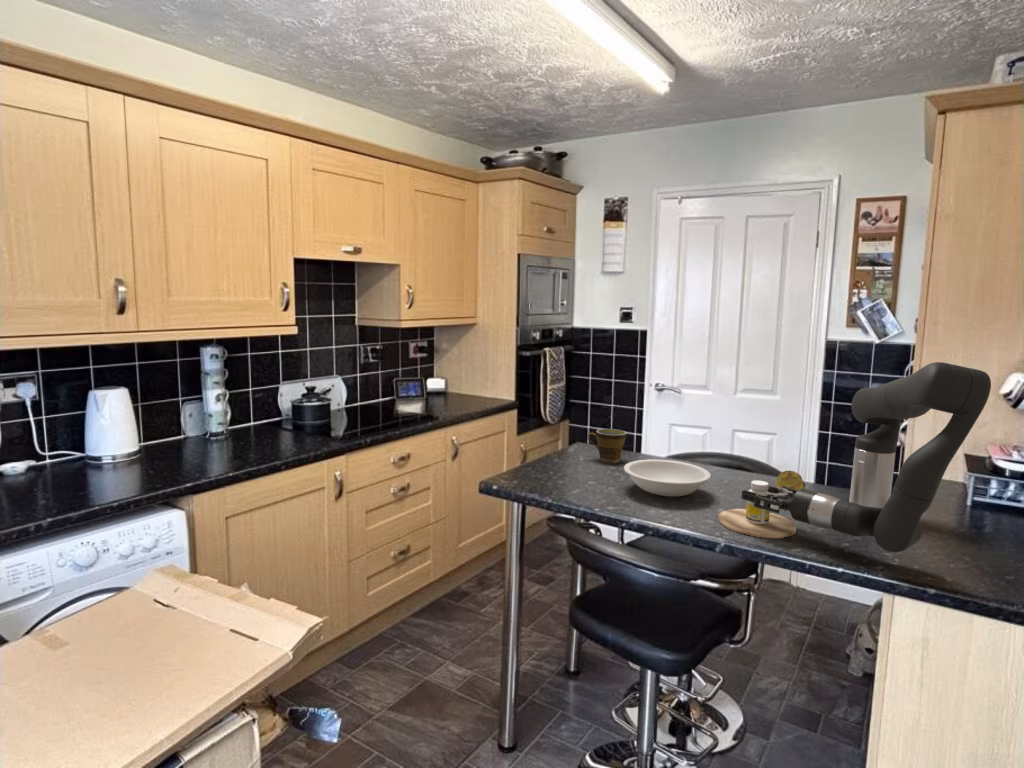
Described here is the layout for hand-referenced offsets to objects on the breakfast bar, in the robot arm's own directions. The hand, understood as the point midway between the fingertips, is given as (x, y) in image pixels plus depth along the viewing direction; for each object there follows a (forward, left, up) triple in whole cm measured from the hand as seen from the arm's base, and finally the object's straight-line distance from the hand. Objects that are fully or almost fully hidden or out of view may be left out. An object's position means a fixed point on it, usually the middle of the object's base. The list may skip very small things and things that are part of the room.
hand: (751, 491), depth 153 cm
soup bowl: (-2, -27, -8) cm, 28 cm away
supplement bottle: (0, +2, -7) cm, 8 cm away
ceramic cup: (-14, -61, -8) cm, 63 cm away
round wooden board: (0, +2, -8) cm, 8 cm away
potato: (-24, -2, -8) cm, 25 cm away
